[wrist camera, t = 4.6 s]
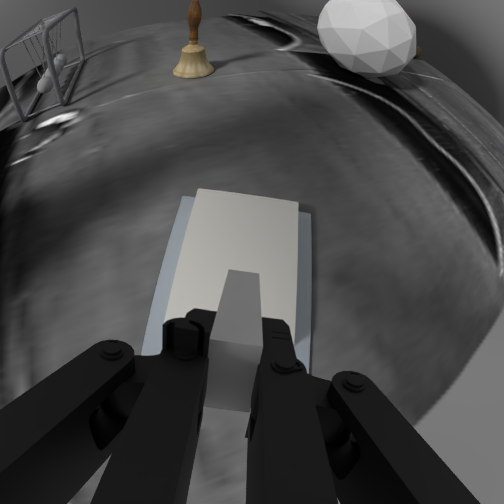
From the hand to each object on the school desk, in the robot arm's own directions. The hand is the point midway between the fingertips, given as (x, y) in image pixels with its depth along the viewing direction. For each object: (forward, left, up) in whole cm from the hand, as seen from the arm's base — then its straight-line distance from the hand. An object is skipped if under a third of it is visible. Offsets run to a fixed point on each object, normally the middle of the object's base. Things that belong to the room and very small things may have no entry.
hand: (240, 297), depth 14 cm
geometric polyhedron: (-20, +67, -11) cm, 70 cm away
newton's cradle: (-66, +10, -11) cm, 67 cm away
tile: (0, 0, -9) cm, 9 cm away
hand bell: (-40, +32, -11) cm, 52 cm away
